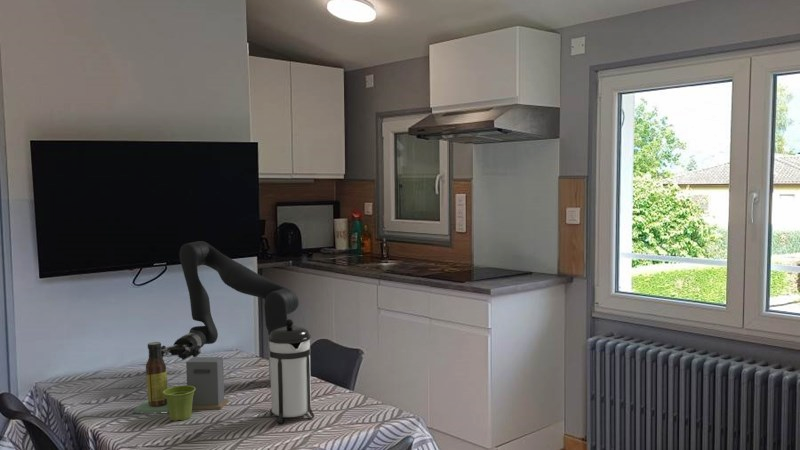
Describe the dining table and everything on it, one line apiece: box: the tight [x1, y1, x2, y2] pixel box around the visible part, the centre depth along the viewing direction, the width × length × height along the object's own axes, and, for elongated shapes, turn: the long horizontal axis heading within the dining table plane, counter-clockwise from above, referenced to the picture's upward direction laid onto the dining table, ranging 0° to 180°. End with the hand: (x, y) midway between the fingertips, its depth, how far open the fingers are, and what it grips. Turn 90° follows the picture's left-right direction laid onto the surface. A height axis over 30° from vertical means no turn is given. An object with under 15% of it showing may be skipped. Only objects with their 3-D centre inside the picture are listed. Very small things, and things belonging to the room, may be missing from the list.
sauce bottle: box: [145, 341, 169, 406], centre depth 216 cm, size 6×6×20 cm
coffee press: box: [267, 318, 315, 425], centre depth 206 cm, size 17×16×30 cm
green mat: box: [133, 399, 169, 414], centre depth 216 cm, size 11×11×1 cm
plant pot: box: [163, 384, 196, 422], centre depth 206 cm, size 9×9×9 cm
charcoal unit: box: [185, 356, 229, 411], centre depth 217 cm, size 12×8×15 cm, turn 87°
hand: (170, 356), depth 227 cm, fingers open, 8 cm apart
